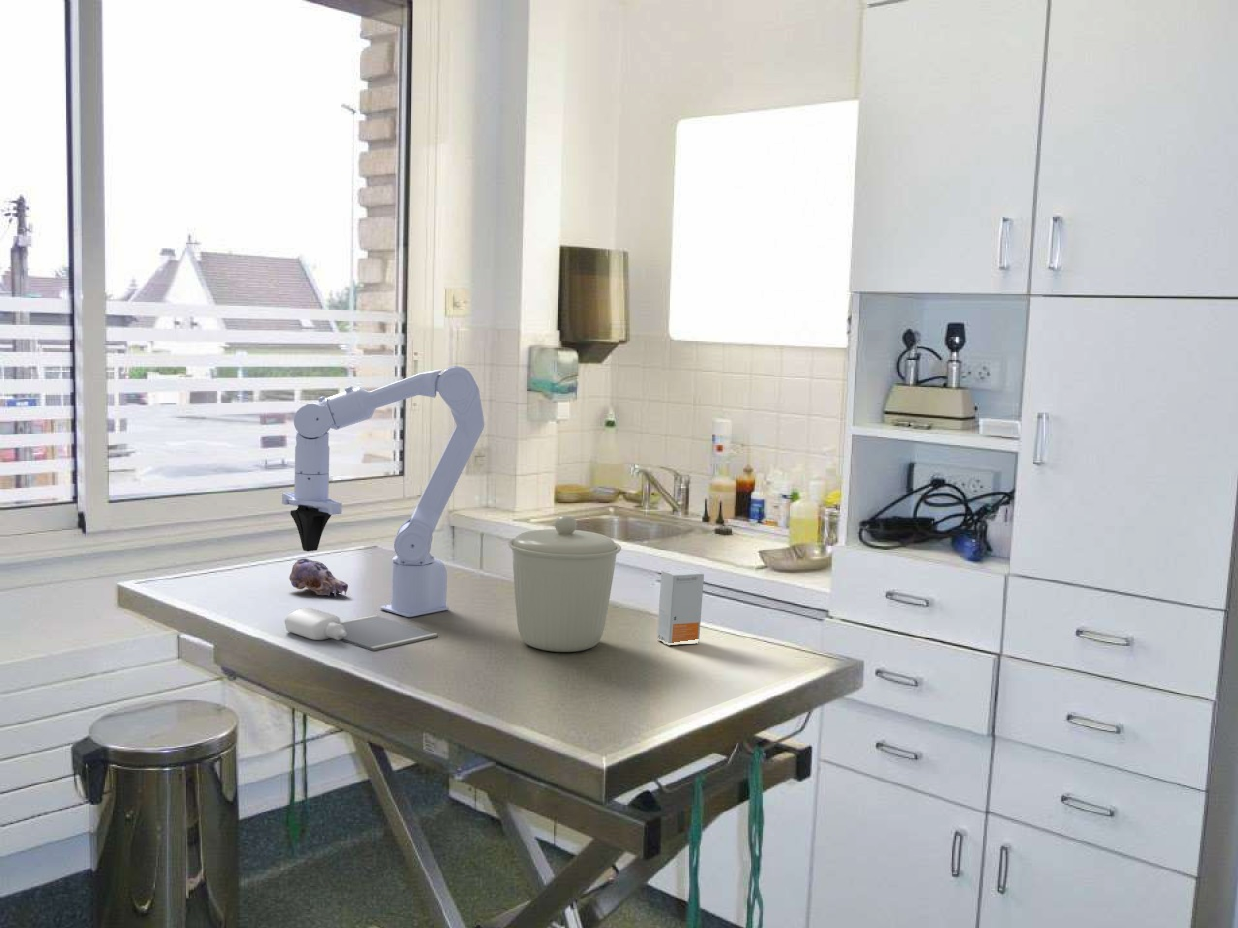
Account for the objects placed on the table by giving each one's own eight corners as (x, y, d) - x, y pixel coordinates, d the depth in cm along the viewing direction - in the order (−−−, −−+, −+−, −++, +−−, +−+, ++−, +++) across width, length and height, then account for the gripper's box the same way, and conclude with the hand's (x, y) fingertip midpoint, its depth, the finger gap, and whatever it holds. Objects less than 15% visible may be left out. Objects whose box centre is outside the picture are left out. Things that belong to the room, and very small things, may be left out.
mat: (375, 617, 190) (375, 615, 190) (437, 636, 180) (437, 633, 180) (311, 630, 180) (311, 627, 180) (373, 650, 170) (373, 647, 170)
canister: (639, 648, 180) (645, 519, 177) (556, 666, 167) (562, 528, 165) (563, 624, 192) (569, 504, 190) (481, 640, 179) (486, 511, 177)
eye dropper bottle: (308, 634, 182) (354, 650, 174) (280, 629, 177) (326, 645, 170) (315, 608, 182) (362, 623, 175) (288, 602, 178) (335, 617, 171)
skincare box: (669, 647, 181) (673, 575, 180) (656, 640, 185) (660, 570, 184) (700, 644, 184) (705, 573, 183) (687, 637, 188) (691, 568, 186)
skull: (356, 596, 206) (357, 563, 205) (323, 602, 200) (324, 569, 199) (314, 585, 213) (314, 554, 212) (281, 591, 206) (281, 559, 206)
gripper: (267, 469, 193) (266, 546, 194) (317, 478, 184) (315, 559, 185) (302, 467, 198) (300, 542, 200) (352, 476, 189) (350, 554, 191)
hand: (310, 550), depth 193 cm, fingers closed
